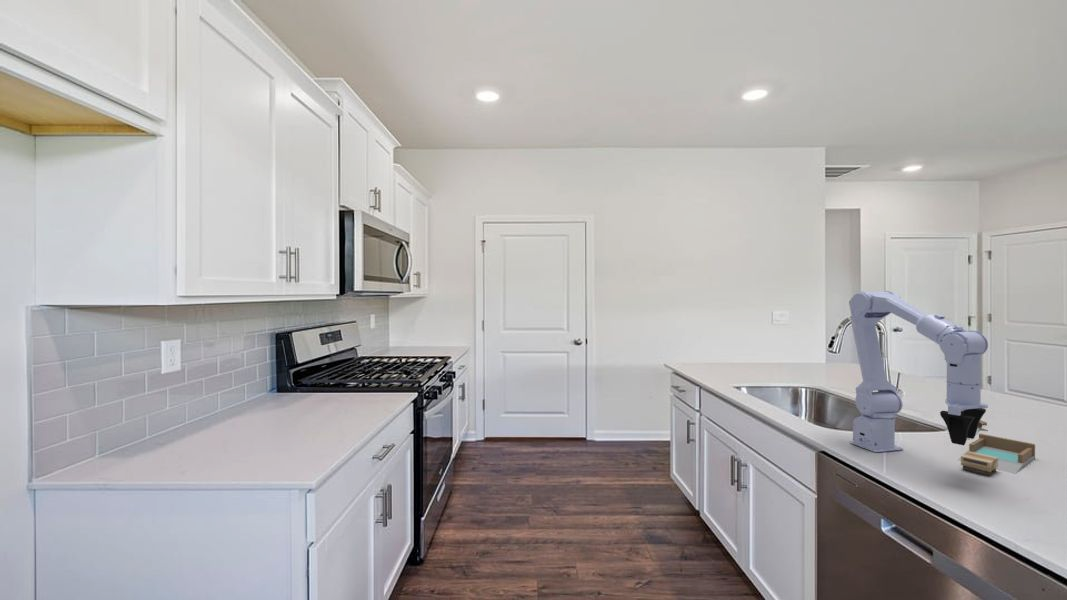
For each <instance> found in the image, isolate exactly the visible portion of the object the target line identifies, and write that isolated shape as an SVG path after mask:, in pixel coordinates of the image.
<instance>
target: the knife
mask: <svg viewBox="0 0 1067 600" xmlns="http://www.w3.org/2000/svg"><path fill="white" fill-rule="evenodd" d="M983 426H988V423H987V422H986V421H983V420H980V422H979V424H978V428H977V431H976V435H975V436H977V435H979V432H980V431H983V432H989V430H988V429H985V428H982V427H983ZM967 439H968V440H971V439H970V438H967Z"/></svg>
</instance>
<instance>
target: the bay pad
mask: <svg viewBox="0 0 1067 600" xmlns="http://www.w3.org/2000/svg"><path fill="white" fill-rule="evenodd" d="M975 453H979V454H984V455H988V456H993V457H997V458H999V459H1003V460H1008V461H1012V462H1017V461H1018V455H1014V454H1009V453H1004V452H1000V451H995V450H990V449H986V448H982V449H980V450H979V451H977V452H975Z"/></svg>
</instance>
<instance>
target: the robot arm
mask: <svg viewBox="0 0 1067 600" xmlns="http://www.w3.org/2000/svg"><path fill="white" fill-rule="evenodd" d="M848 304H849V310H850V315H851V320H850V323H851V327H852V328H851V329H852V332H853V338H854V343H855V348H856V352H857V358H858V362H859V367H860V373H861V377H862V382H861V383H859V384H858V386H856V388H855V394H856V395H855V399H854V400H855V406H856V409H857V410H858V411H859V413H860V414H861V415H860V416H858V417H855V419H854V420H853V423H852V440H850V442H849V444H852V445H854V446H857V447H860V448H863V449H865V450H868V451H870V452H874V453H883V452H892V451H902V450H904V448H903V447H902V446H898V445H895V439H896V438H895V436H896V435H895V434H896V433H895V431H896V430H895V427H896V426H895V424H896V421H895V418H896V417H897V416H898V413H900V412H901V411H902V409H903V399H902V397H901V396H900V395H899V393H898V391H897V387H896V386H895V385H894V384H893V383H891V382H890V381H888V378H887V375H886V370H885V366H884V360H883V357H882V351H881V347H880V342H879V338H878V332H877V329H876V327H877V326H876V325H877V324H878V323H879V322H880V321H881V320H883V319H885V318H886V317H888V316H889V315H890V314H893V315H895V316H897V317H899V318H900V319H903V320H904V321H907V322H909V323H910V324H913V325H915V328H916V331H917V333H918V334H920V335H921V336H923V337H925V338H927V339H928V340H930V341H932V342H934V343H935V344H937V345H939V348H940V350H941V352H942V353H943V356H944V361H945V362H946V399H945V401H944V402H945V404H946V405H947V410H941V411H940V412H939V415H940V417H941V418H942V420H943V421H944V423H945V425H946V427H947V428H946V429H947V431H948V432H947V433H948V434H949V438H950V441H951V443H952V444H955V445H959V446H965V445H966V442H967V438H971V439H972V440H974V439H975V437H976V436H977V435H976V431H977V428H978V424H979V422H980V420H981V419H982V417H983V416H984V415H985V413H986V412H987V409H988V408H989V404H986V403H982V402H981V398H982V397H981V396H982V395H981V392H982V391H981V389H982V388H981V387H982V386H981V384H982V383H981V382H982V381H981V378H982V377H981V376H982V375H981V374H982V373H981V372H982V371H981V369H982V367H981V366H982V365H981V364H982V363H981V361H982V359H981V358H982V357H981V356H982V355H983V354H985V353H986V352H987V350H988V348H989V342H988V340H987V338H986V336H985V335H983V333H980V331H978V330H965V329H964V327H963V325H960V324H955V323H953V322H951V321H949V320H947V319H946V318H945V317H946V316H945V315H943V314H940V313H939V314H938V313H930V314H926V313H924V312H923V311H922V310H919V309H918V308H916V307H915V306H913V305H911V304H910V303H909V302H908V301H906V300H904V299H902V298H901V295H899V294H896V293H894V292H893V291H890V290H883V291H862V290H860V291H857V292H855V293H854V294H853V295H852V297H851V298H850V300H849V301H848ZM981 421H982V420H981ZM971 439H970V440H971Z"/></svg>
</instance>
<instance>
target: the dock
mask: <svg viewBox="0 0 1067 600" xmlns="http://www.w3.org/2000/svg"><path fill="white" fill-rule="evenodd" d="M982 448H986V449H990V450H995V451H1000V452H1004V453H1009V454H1014V455H1018V461H1017V462H1012V461H1008V460H1003V459H999V458H998V467H997V468H996V471H1002V472H1005V473H1008V474H1009V473H1010V474H1012V475H1013V474H1014V475H1016V474H1017V473H1018V472H1019V471H1022V469H1023V468H1025V467H1026V466H1027V465H1029V464H1031V462H1033V461H1034V460H1035V459H1036V444H1035V443H1032V442H1027V441H1022V440H1021V441H1020V440H1016V439H1011V438H1005V437H1000V436H995V435H989V434H984V433H978V438H977V439H976V440H974V441H972V442H970V443H969V445H968V450H967V451H965V452H964V453H963V454H962V455H964V454H966V453H967V452H969V451H970V452H977V451H979V450H980V449H982ZM959 460H960V461H959ZM957 461H959V462H961V456H960V457H959V458H958V459H957Z"/></svg>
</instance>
